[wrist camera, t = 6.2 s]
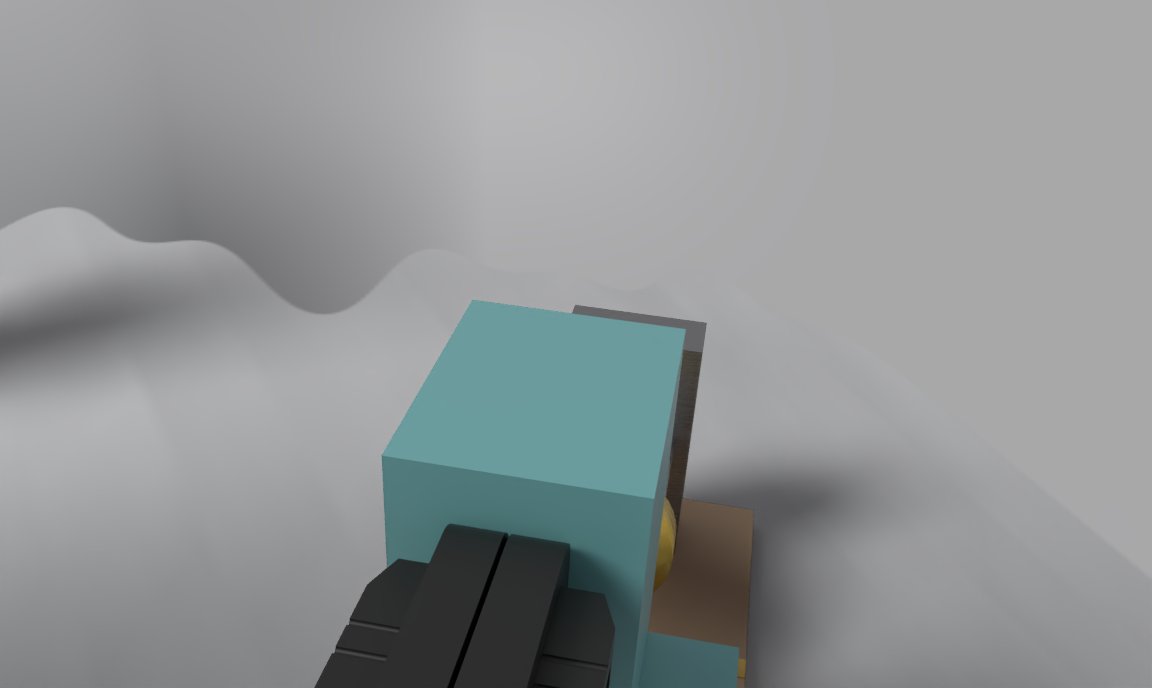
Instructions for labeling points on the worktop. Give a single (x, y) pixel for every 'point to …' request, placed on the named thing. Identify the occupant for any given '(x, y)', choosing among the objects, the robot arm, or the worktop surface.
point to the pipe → (681, 424)
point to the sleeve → (555, 464)
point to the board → (708, 579)
